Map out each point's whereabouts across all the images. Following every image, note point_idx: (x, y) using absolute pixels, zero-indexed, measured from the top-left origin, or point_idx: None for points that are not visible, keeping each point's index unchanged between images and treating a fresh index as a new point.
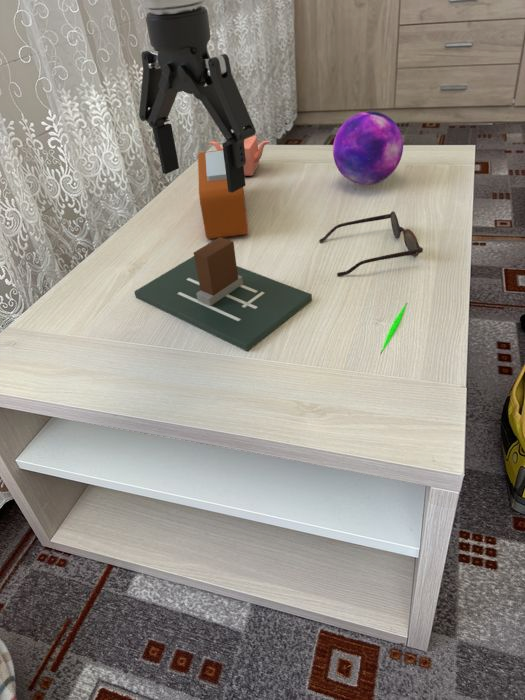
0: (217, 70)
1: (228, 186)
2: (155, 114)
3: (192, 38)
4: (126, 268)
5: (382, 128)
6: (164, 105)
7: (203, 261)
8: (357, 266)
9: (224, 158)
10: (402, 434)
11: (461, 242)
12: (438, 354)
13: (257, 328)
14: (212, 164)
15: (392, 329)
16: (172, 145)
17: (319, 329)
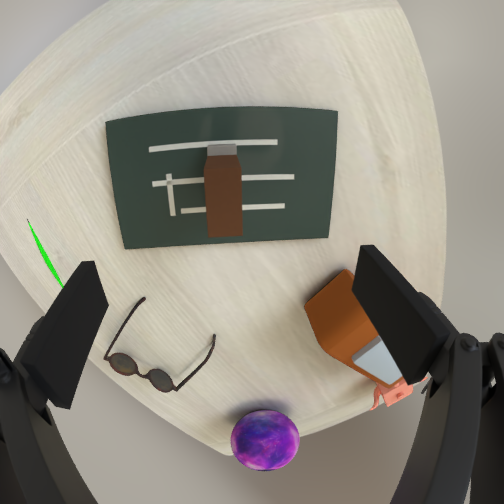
0: None
1: (85, 269)
2: (462, 385)
3: None
4: (395, 160)
5: (246, 461)
6: (431, 446)
7: (215, 166)
8: (128, 315)
9: (53, 325)
10: None
11: (116, 380)
12: (9, 248)
13: (118, 153)
14: (391, 359)
15: (41, 252)
16: (383, 328)
17: (82, 208)
